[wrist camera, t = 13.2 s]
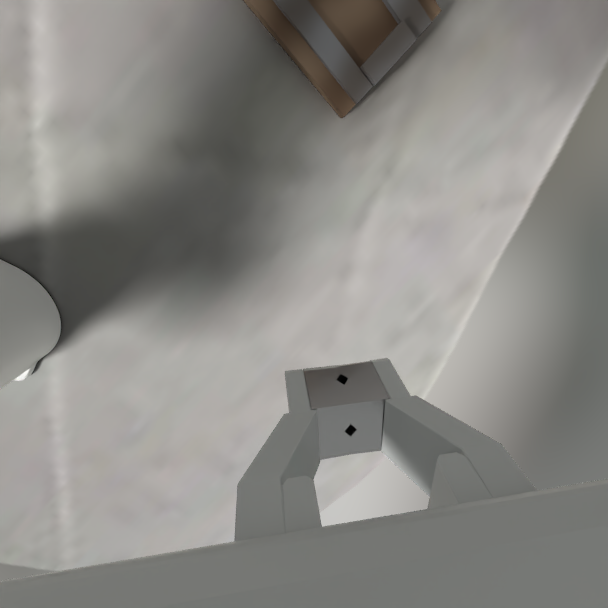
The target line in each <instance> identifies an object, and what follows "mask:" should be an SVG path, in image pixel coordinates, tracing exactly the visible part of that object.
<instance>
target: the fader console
mask: <svg viewBox="0 0 608 608" xmlns="http://www.w3.org/2000/svg"><path fill="white" fill-rule="evenodd" d="M243 1H244V2H245V3H246V4H247V5H248V7H249V8H250V9H251V10H252V12H253V13H254V14H255V15H256V16H257V18H258V19H259V20H260V21H261V22H262V24H263V25H264V26H265V27H266V28H267V30H268V31H269V32H270V33H271V34H272V36H273V37H274V38H275V39H276V41H277V42H278V43H279V44H280V45H281V47H282V48H283V49H284V50H285V51H286V53H287V54H288V55H289V56H290V57H291V59H292V60H293V61H294V62H295V63H296V65H297V66H298V67H299V68H300V69H301V71H302V72H303V73H304V74H305V76H306V77H307V78H308V79H309V80H310V82H311V83H312V84H313V85H314V86H315V88H316V89H317V90H318V91H319V92H320V94H321V95H322V96H323V97H324V98H325V100H326V101H327V102H328V103H329V105H330V106H331V107H332V108H333V109H334V111H335V112H336V113H337V114H338V115H339V117H340V118H343V117H345V116H346V114H347V113H348V112H349V111H350V110H351V109H352V108H353V107H354V106H355V105H356V104H357V103H358V102H359V101H360V100H361V99H362V98H363V97H364V96H365V95H366V94H367V92H368V91H369V90H370V89H371V88H372V87H373V86H374V85H375V84H377V83H378V81H379V80H380V79H381V78H382V77H383V76H384V75H385V74H386V73H387V72H388V71H389V69H390V68H391V67H392V66H393V65H394V64H395V63H396V62H397V61H398V60H399V59H400V57H401V56H402V55H403V54H404V53H405V52H406V51H407V50H408V49H409V48H410V47H411V46H412V44H413V43H414V42H415V41H416V40H417V38H418V37H419V36H420V35H421V34H422V32H423V31H424V30H425V29H426V28H427V27H428V26H429V25H430V24H431V23H432V21H433V19H434V18H435V17H436V16H437V15H438V14H439V13H440V12H441V9H440V7H439V6H438V4H437V3H436V1H435V0H243Z"/></svg>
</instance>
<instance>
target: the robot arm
mask: <svg viewBox="0 0 608 608" xmlns="http://www.w3.org/2000/svg"><path fill="white" fill-rule="evenodd" d="M60 332H61V320H60V315H59V312H58V309H57V307H56V305H55V303H54V301H53V299H52V298H51V296H50V295H49V294H48V292H47V291H46V290H45V289H44V288H43V287H42V286H41V285H40V284H39V283H38V282H37V281H36V280H35V279H34V278H32V277H31V276H30V275H28V274H27V273H25V272H24V271H22V270H21V269H19V268H17V267H15V266H13V265H11V264H9V263H7V262H5V261H3V260H1V259H0V390H1V389H2V388H3V387H5V386H6V385H7V384H9V383H10V382H12V381H13V380H16V381H21V380H24V379H26V378H27V377H28V376H30V375H31V374H32V372H33V370H34V368H35V366H36V363H37V362H38V361H39V360H40V359H41V358H42V357H44V356H45V355H47V354H48V353H49V352H50V351H51V350H52V349H53V348H54V347H55V345H56V344H57V342H58V340H59V337H60ZM285 380H286V389H287V399H288V408H289V413H287V414H284V415H283V417H282V418H281V420H280V421H279V423H278V424H277V426H276V427H275V429H274V430H273V432H272V433H271V435H270V436H269V438H268V439H267V441H266V442H265V444H264V445H263V447H262V448H261V450H260V451H259V453H258V454H257V456H256V457H255V459H254V460H253V462H252V463H251V465H250V466H249V468H248V469H247V471H246V472H245V474H244V475H243V477H242V478H241V480H240V481H239V483H238V486H237V504H236V522H235V541H234V542H229V543H223V544H217V545H211V546H205V547H200V548H194V549H188V550H182V551H176V552H170V553H164V554H158V555H152V556H146V557H140V558H134V559H128V560H122V561H117V562H111V563H105V564H99V565H93V566H87V567H81V568H75V569H69V570H63V571H57V572H51V573H45V574H40V575H34V576H28V577H22V578H16V579H10V580H4V581H0V608H608V479H602V480H597V481H590V482H584V483H578V484H572V485H566V486H560V487H554V488H549V489H543V490H537V489H536V488H535V487H534V486H533V484H532V483H531V482H530V481H529V479H528V478H527V476H526V475H525V474H524V473H523V471H522V470H521V469H520V467H519V466H518V465H517V464H516V462H515V461H514V460H513V459H512V457H511V456H510V454H509V453H508V452H507V451H506V449H505V448H504V447H503V446H502V444H500V443H499V442H497V441H495V440H493V439H492V438H490V437H488V436H486V435H484V434H483V433H481V432H479V431H477V430H476V429H474V428H472V427H470V426H469V425H467V424H465V423H463V422H462V421H460V420H458V419H456V418H454V417H453V416H451V415H449V414H448V413H446V412H444V411H442V410H441V409H439V408H437V407H435V406H433V405H431V404H430V403H428V402H426V401H425V400H423V399H421V398H419V397H418V396H410V394H409V392H408V391H407V389H406V387H405V385H404V384H403V382H402V380H401V379H400V377H399V375H398V373H397V372H396V370H395V368H394V367H393V365H392V363H391V361H390V360H389V359H388V358H383V359H377V360H370V361H366V362H359V363H351V364H344V365H335V366H326V367H316V368H307V369H303V370H302V369H300V370H291V371H285ZM381 450H382V451H381ZM373 451H381V452H382V453H383V454H384V455H385V456H386V457H387V458H388V459H390V460H391V461H392V462H393V463H394V464H395V465H396V466H397V467H398V468H399V469H400V470H401V471H402V472H404V473H405V474H406V475H407V476H408V477H409V478H410V479H411V480H412V481H413V482H414V483H415V484H417V485H418V486H419V487H420V488H421V489H422V490H423V491H424V492H425V493H426V494H427V495H428V496H429V497H430V498H429V504H428V509H426V510H420V511H414V512H407V513H401V514H396V515H390V516H384V517H378V518H372V519H366V520H360V521H354V522H348V523H342V524H336V525H330V526H325V527H322V525H321V520H320V514H319V508H318V503H317V497H316V491H315V486H314V480H313V479H314V476H315V474H316V471H317V469H318V466H319V464H320V460H322V459H327V458H333V457H338V456H344V455H349V454H357V453H365V452H373Z"/></svg>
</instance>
